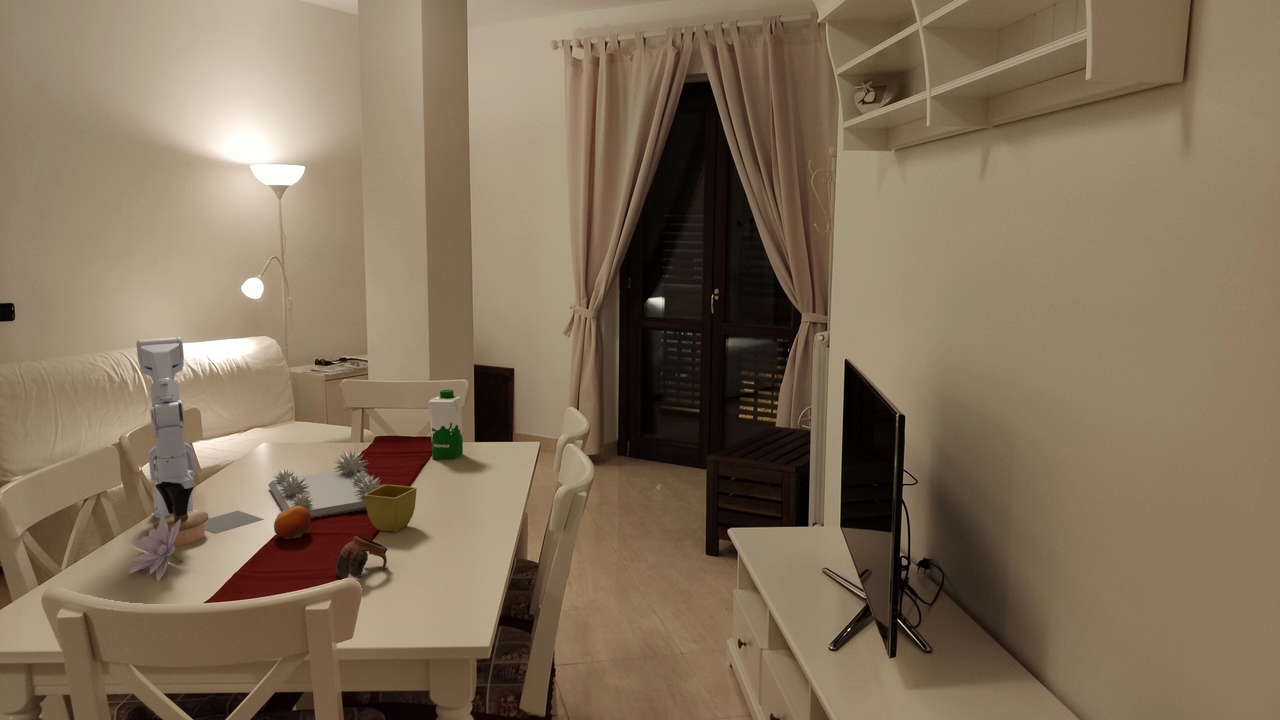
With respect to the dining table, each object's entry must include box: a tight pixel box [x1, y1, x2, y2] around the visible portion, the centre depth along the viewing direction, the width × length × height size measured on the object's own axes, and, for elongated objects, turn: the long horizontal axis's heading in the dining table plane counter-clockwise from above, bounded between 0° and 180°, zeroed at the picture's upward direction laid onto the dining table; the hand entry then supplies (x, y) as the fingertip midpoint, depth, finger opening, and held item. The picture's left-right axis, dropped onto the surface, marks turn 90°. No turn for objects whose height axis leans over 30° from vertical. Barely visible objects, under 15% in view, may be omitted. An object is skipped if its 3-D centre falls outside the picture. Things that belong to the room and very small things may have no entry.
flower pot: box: [364, 484, 417, 533], centre depth 205 cm, size 9×9×9 cm
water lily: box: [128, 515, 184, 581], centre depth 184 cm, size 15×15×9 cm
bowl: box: [153, 523, 206, 547], centre depth 201 cm, size 10×10×4 cm
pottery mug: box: [335, 535, 388, 580], centre depth 178 cm, size 12×10×8 cm
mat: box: [204, 510, 265, 535], centre depth 212 cm, size 12×12×1 cm
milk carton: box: [427, 389, 464, 461], centre depth 268 cm, size 9×9×20 cm
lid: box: [153, 506, 209, 532], centre depth 201 cm, size 11×11×4 cm
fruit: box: [273, 506, 312, 539], centre depth 202 cm, size 8×8×8 cm
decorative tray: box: [268, 449, 386, 519], centre depth 230 cm, size 35×26×10 cm
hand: (177, 513), depth 201 cm, fingers closed on lid, 3 cm apart
